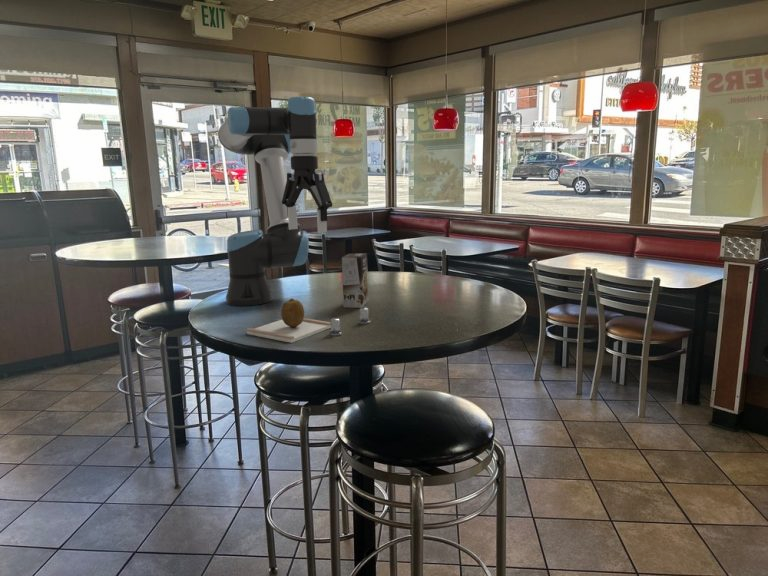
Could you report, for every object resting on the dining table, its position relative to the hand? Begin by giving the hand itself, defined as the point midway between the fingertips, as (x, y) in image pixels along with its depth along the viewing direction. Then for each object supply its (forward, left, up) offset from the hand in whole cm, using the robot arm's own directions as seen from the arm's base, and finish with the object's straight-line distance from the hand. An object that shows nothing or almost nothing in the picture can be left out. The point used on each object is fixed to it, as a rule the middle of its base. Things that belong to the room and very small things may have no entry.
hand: (307, 231), depth 159 cm
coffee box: (+3, +18, -26) cm, 31 cm away
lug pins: (+18, -5, -25) cm, 32 cm away
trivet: (+5, -15, -25) cm, 30 cm away
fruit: (+6, -14, -25) cm, 29 cm away
